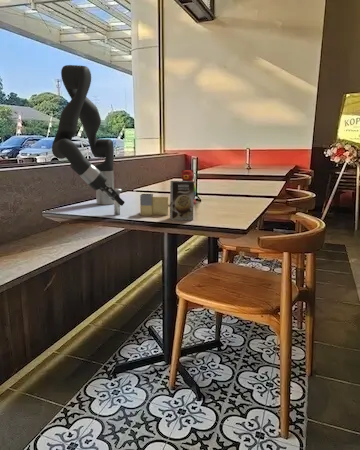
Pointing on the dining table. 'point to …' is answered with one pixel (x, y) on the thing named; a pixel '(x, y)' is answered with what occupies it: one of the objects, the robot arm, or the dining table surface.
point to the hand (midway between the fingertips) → (120, 203)
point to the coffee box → (181, 200)
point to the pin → (116, 204)
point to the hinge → (153, 205)
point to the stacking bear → (188, 179)
